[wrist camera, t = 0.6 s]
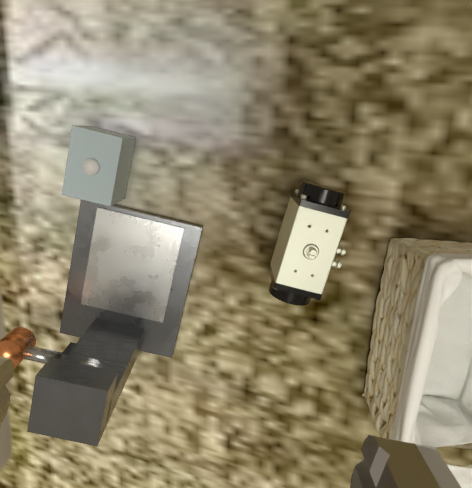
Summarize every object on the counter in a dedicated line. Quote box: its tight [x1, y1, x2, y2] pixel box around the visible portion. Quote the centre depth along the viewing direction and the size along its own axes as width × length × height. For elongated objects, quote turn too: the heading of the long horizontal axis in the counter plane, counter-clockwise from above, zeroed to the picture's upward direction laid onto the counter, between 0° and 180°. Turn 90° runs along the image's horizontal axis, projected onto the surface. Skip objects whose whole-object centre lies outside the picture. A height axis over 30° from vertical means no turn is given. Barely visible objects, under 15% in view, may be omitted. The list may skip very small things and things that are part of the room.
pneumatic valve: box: [269, 181, 350, 305], centre depth 45 cm, size 6×12×12 cm, turn 165°
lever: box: [0, 327, 62, 369], centre depth 45 cm, size 3×6×4 cm, turn 76°
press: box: [27, 199, 203, 446], centre depth 44 cm, size 23×14×18 cm, turn 166°
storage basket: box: [362, 238, 472, 488], centre depth 46 cm, size 24×16×15 cm
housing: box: [62, 125, 136, 206], centre depth 46 cm, size 7×5×6 cm
